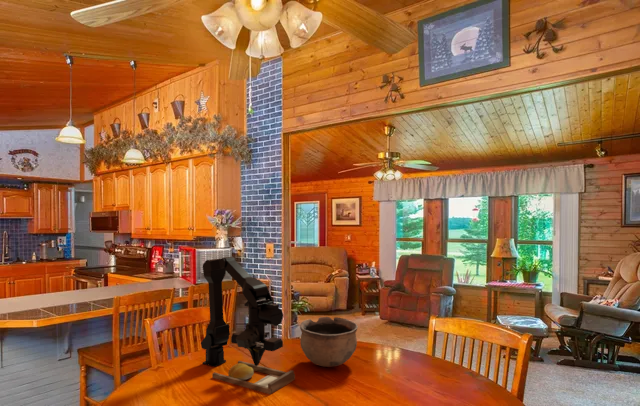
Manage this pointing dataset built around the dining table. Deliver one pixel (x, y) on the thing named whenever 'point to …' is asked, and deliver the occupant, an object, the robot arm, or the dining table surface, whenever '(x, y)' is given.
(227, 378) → the brown open frame
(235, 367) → the bread roll
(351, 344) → the ceramic bowl
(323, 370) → the dining table surface
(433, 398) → the dining table surface
